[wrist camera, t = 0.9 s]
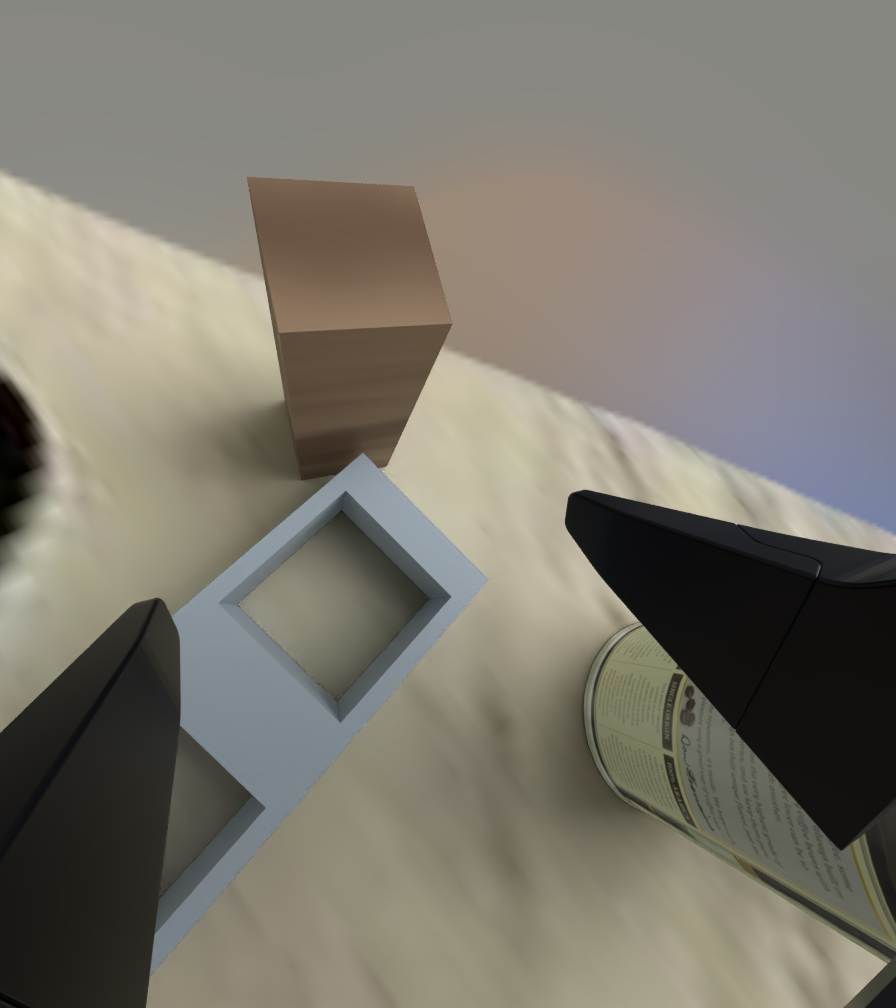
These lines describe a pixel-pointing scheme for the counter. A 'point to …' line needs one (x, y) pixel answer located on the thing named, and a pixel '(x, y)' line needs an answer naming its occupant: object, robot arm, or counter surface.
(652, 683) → the coffee can
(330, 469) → the peg
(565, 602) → the counter surface
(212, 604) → the blue peg holder
